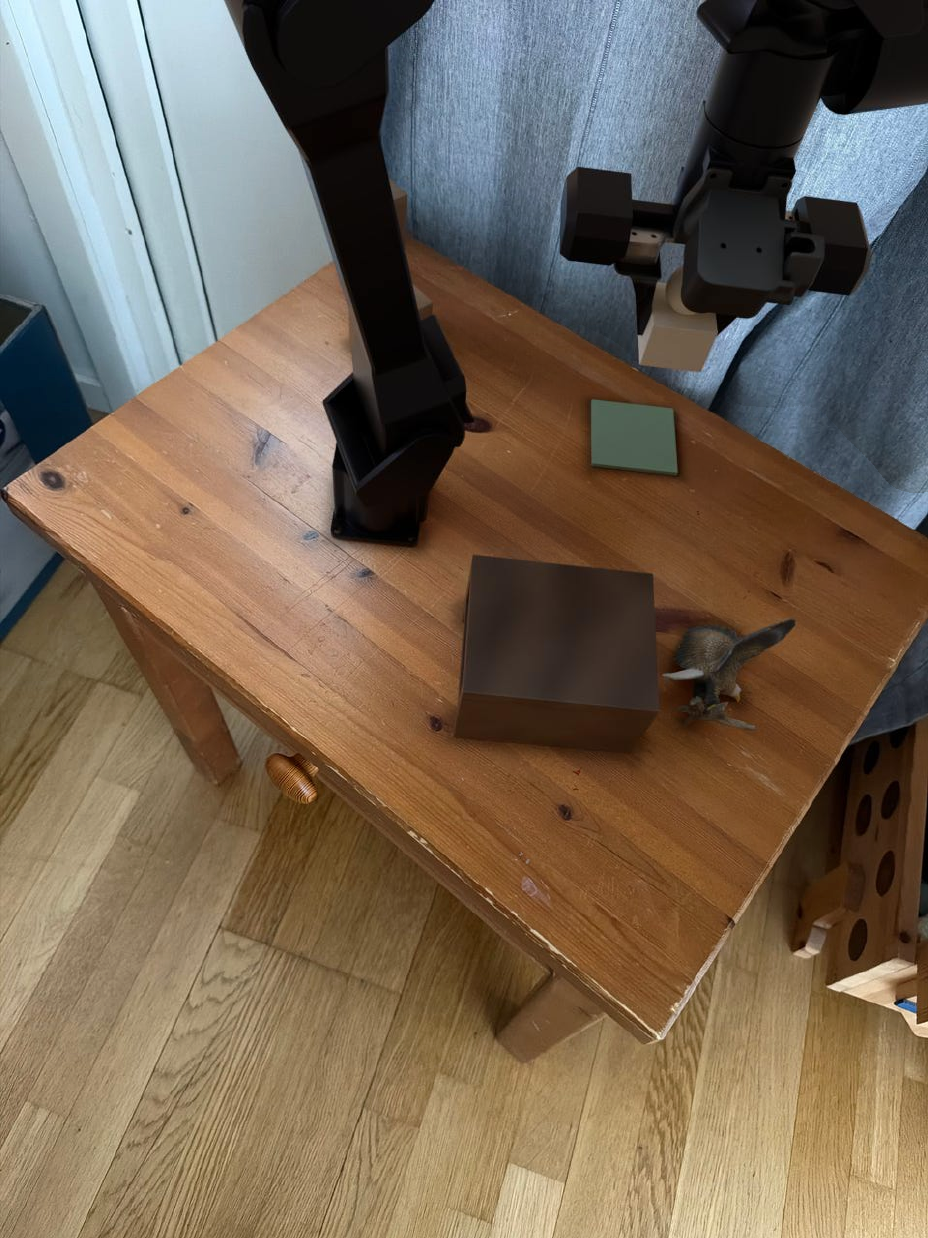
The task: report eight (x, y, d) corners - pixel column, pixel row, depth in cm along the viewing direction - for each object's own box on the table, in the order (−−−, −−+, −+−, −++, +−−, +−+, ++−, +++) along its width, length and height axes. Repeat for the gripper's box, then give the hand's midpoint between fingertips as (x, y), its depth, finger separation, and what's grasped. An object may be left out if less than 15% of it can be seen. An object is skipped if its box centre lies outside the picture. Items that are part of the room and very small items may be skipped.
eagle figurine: (769, 757, 60) (811, 642, 63) (741, 709, 55) (788, 586, 57) (665, 730, 64) (708, 624, 67) (631, 684, 59) (679, 572, 62)
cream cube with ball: (638, 365, 62) (667, 284, 56) (637, 321, 65) (664, 238, 59) (700, 372, 63) (735, 292, 57) (696, 328, 65) (730, 247, 59)
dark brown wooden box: (453, 737, 60) (462, 692, 54) (462, 608, 65) (472, 554, 59) (630, 754, 60) (660, 711, 54) (626, 625, 65) (653, 573, 59)
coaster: (591, 466, 72) (592, 463, 72) (590, 402, 76) (591, 398, 75) (676, 475, 73) (677, 472, 72) (671, 411, 76) (673, 408, 76)
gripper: (587, 186, 45) (537, 405, 58) (949, 232, 46) (816, 437, 59) (587, 63, 50) (541, 289, 64) (909, 107, 51) (797, 320, 65)
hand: (672, 335), depth 63 cm, fingers closed on cream cube with ball, 4 cm apart
